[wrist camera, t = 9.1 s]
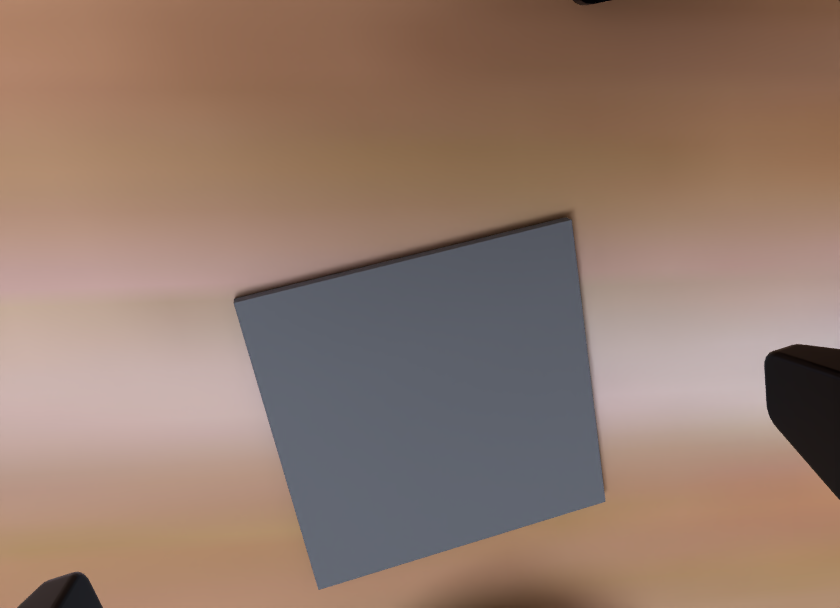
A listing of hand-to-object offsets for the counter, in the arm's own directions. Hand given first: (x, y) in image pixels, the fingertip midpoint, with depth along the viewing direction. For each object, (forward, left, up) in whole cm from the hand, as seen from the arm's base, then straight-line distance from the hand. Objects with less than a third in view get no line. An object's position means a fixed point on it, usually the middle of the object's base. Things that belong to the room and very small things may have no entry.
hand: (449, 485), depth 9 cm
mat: (-2, +6, -12) cm, 14 cm away
